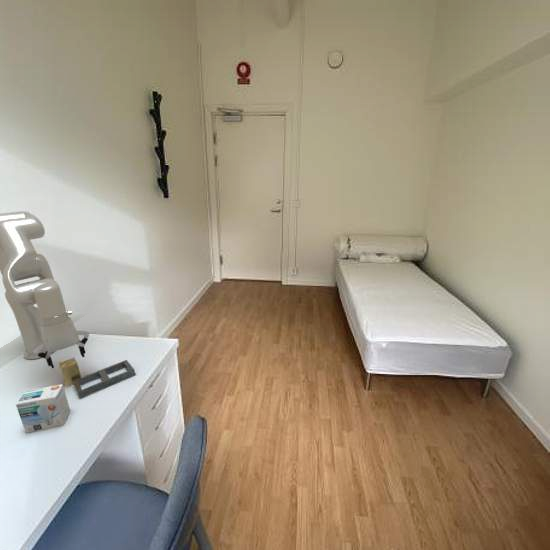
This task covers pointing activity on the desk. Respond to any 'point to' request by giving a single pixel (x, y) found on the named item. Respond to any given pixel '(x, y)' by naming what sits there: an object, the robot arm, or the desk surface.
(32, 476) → the desk surface
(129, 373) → the grey rectangular frame
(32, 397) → the light bulb box
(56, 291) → the robot arm
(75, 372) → the tan rectangular block
